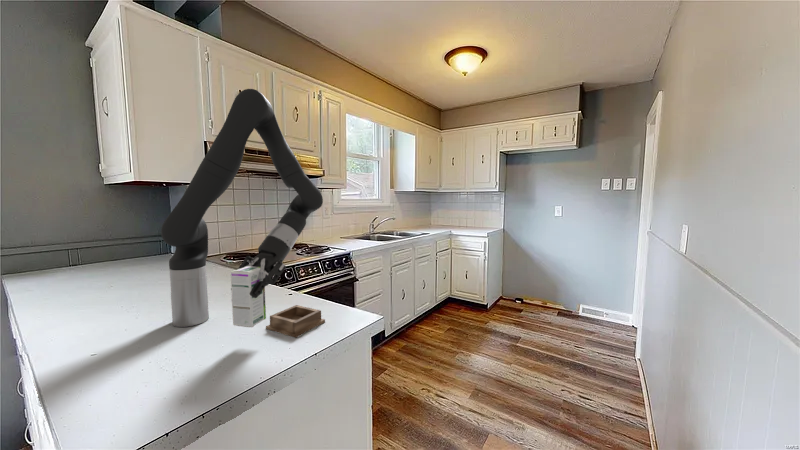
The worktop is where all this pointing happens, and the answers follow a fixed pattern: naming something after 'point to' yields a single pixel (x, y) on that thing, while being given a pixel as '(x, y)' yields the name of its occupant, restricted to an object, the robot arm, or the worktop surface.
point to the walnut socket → (295, 320)
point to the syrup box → (247, 297)
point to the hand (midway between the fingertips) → (243, 293)
